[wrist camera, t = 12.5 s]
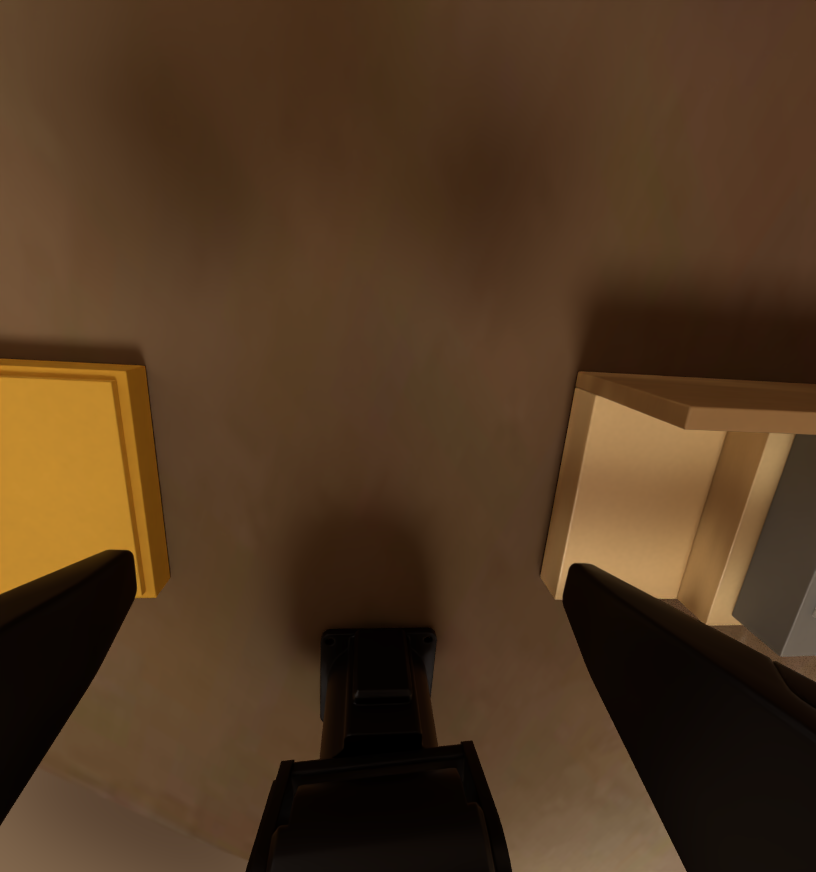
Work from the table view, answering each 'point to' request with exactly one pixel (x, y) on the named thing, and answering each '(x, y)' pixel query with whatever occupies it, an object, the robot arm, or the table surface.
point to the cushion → (77, 470)
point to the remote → (786, 561)
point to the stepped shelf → (672, 482)
